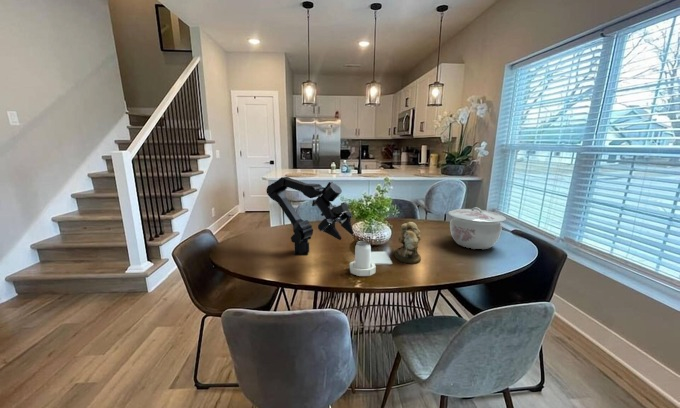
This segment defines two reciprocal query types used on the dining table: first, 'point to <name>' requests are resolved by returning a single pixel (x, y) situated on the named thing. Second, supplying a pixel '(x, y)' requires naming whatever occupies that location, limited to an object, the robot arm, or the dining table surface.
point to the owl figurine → (408, 244)
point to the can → (362, 255)
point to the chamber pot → (475, 227)
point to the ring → (362, 270)
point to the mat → (380, 258)
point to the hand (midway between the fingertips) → (347, 236)
